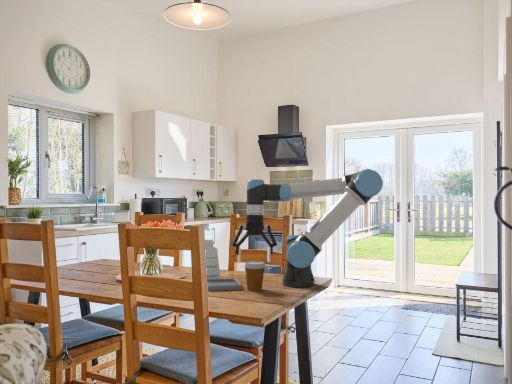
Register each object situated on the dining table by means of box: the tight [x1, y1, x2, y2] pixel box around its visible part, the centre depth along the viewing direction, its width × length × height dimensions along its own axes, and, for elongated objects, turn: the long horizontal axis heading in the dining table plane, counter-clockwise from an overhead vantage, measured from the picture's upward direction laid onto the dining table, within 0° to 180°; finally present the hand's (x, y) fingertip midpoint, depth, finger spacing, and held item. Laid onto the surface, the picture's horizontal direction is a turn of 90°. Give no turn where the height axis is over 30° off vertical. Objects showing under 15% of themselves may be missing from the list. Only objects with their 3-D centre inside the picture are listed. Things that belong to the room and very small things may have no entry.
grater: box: [204, 238, 221, 279], centre depth 217 cm, size 10×10×20 cm
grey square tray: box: [207, 277, 243, 292], centre depth 200 cm, size 15×15×2 cm
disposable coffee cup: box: [243, 260, 266, 292], centre depth 195 cm, size 10×10×12 cm
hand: (254, 262), depth 195 cm, fingers open, 13 cm apart
